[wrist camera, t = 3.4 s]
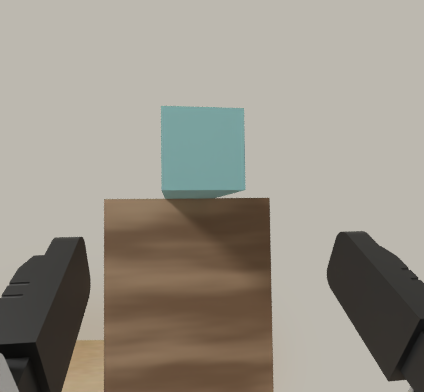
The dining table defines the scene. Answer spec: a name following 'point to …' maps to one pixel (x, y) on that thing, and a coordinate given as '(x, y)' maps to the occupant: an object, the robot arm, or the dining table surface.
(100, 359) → the dining table surface
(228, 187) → the bar
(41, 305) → the robot arm
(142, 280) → the stand
